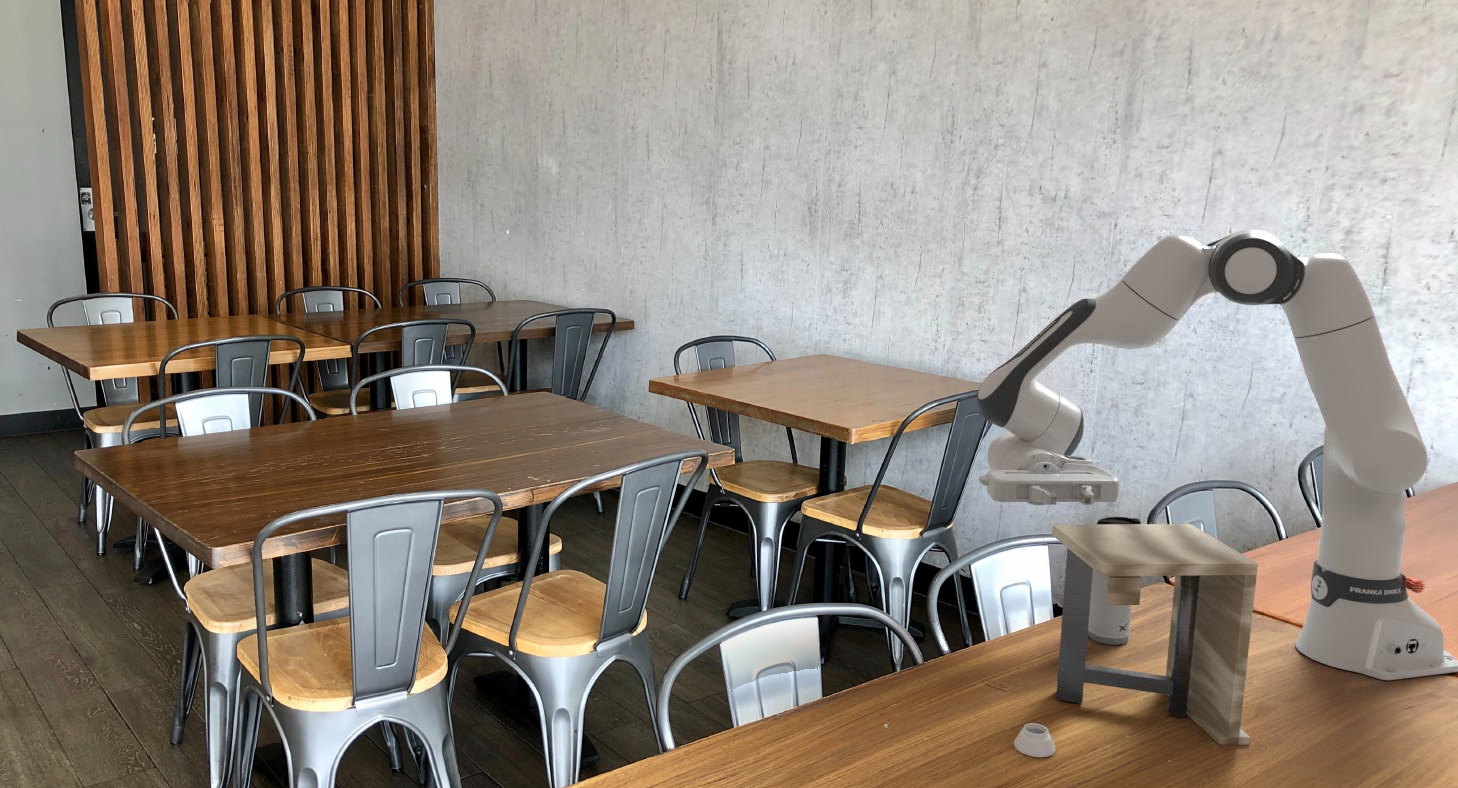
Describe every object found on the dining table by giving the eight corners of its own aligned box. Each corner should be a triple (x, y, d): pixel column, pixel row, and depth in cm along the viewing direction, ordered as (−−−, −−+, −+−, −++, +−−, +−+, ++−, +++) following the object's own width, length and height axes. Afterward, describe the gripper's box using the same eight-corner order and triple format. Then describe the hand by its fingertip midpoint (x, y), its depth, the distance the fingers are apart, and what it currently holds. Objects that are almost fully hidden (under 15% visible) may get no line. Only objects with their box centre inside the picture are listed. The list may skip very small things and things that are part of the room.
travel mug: (1133, 647, 169) (1144, 525, 166) (1089, 643, 170) (1099, 522, 167) (1127, 632, 175) (1137, 514, 172) (1085, 628, 176) (1094, 511, 173)
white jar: (1005, 747, 137) (1037, 764, 133) (1007, 726, 137) (1039, 742, 133) (1031, 736, 140) (1063, 752, 136) (1032, 715, 139) (1064, 731, 135)
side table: (1184, 686, 155) (1200, 524, 151) (1249, 744, 139) (1269, 563, 134) (1040, 688, 154) (1052, 524, 150) (1089, 748, 137) (1104, 564, 133)
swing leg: (1185, 708, 148) (1200, 552, 144) (1187, 719, 145) (1203, 560, 141) (1056, 688, 153) (1068, 538, 149) (1055, 699, 150) (1067, 545, 146)
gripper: (976, 457, 173) (1004, 479, 160) (1098, 458, 175) (1137, 479, 161) (974, 495, 174) (1001, 520, 161) (1095, 495, 176) (1133, 519, 162)
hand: (1070, 499), depth 161 cm, fingers open, 4 cm apart
